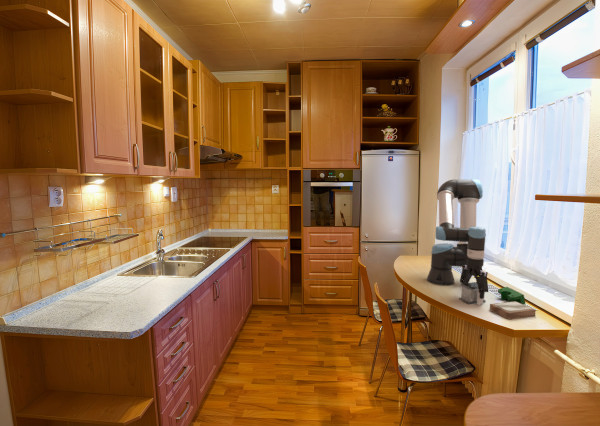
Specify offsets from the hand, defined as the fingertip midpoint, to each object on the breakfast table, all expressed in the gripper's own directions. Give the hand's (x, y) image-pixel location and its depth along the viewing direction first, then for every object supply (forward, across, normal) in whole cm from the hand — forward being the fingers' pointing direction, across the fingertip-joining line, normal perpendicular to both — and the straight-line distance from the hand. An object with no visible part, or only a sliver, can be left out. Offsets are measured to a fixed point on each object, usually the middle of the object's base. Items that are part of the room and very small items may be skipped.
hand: (472, 300), depth 153 cm
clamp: (+1, +5, +19) cm, 19 cm away
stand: (0, +16, +7) cm, 17 cm away
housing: (0, 0, 0) cm, 0 cm away
